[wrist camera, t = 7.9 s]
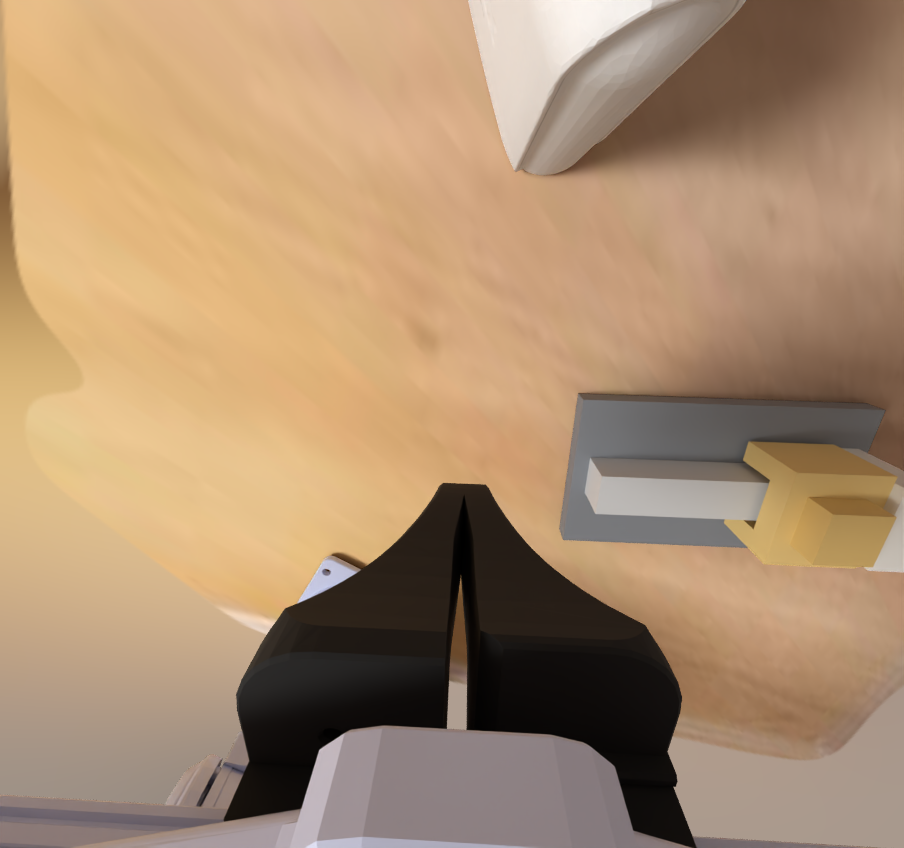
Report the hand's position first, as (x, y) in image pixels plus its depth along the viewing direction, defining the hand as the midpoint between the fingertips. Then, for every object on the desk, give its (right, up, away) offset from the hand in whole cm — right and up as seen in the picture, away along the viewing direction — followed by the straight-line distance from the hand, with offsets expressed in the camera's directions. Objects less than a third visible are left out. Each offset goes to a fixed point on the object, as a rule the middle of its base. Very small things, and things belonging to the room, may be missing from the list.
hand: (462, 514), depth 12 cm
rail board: (+13, 0, +10) cm, 16 cm away
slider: (+16, 0, +9) cm, 18 cm away
